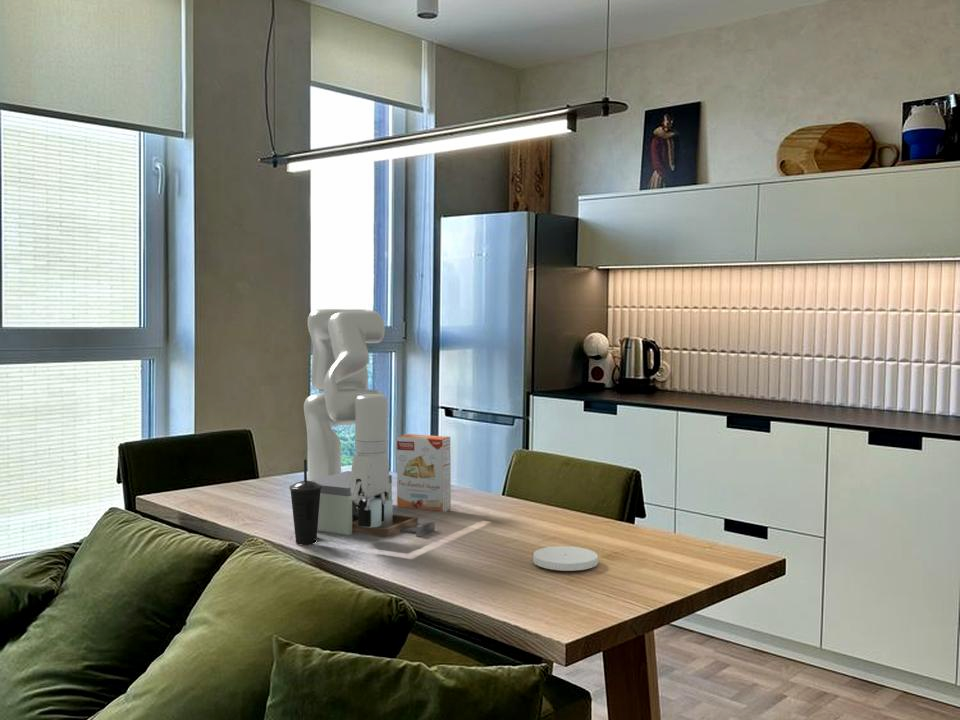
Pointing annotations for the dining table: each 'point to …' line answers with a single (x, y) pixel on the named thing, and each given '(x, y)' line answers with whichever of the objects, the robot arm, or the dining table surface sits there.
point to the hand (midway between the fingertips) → (371, 522)
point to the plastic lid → (565, 558)
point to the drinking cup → (305, 509)
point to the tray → (397, 527)
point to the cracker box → (423, 472)
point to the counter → (338, 503)
